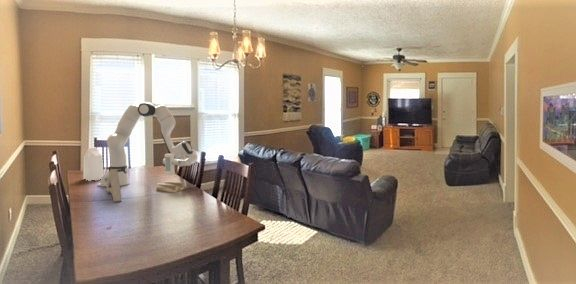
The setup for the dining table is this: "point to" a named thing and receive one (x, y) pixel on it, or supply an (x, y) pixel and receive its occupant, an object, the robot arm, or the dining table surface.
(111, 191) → the wall bracket
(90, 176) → the milk
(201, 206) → the dining table surface
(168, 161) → the white grey box
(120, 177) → the robot arm
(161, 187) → the stand
